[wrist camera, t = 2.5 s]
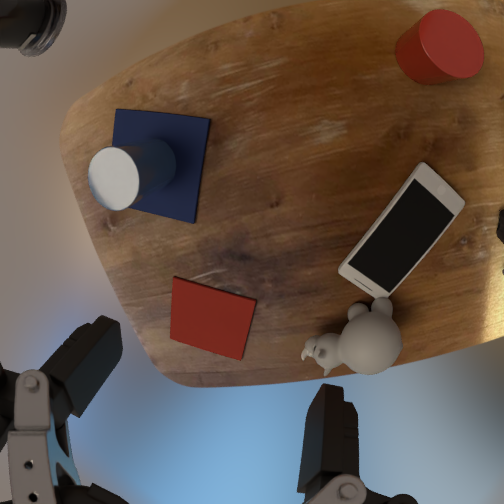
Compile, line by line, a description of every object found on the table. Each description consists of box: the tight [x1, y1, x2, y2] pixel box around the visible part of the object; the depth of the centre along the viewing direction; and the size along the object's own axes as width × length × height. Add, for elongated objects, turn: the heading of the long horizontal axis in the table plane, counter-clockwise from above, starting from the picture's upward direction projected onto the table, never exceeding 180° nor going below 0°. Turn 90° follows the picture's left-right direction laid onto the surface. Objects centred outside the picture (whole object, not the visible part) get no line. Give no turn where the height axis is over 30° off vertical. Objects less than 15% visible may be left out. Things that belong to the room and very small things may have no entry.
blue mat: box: [112, 109, 210, 224], centre depth 33 cm, size 12×12×1 cm
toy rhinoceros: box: [301, 297, 403, 376], centre depth 33 cm, size 7×12×8 cm, turn 111°
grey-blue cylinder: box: [88, 138, 176, 211], centre depth 29 cm, size 6×6×8 cm
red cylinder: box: [395, 9, 484, 85], centre depth 19 cm, size 6×6×8 cm
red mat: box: [170, 276, 256, 361], centre depth 41 cm, size 11×11×1 cm
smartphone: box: [338, 162, 465, 299], centre depth 30 cm, size 7×16×1 cm, turn 149°
